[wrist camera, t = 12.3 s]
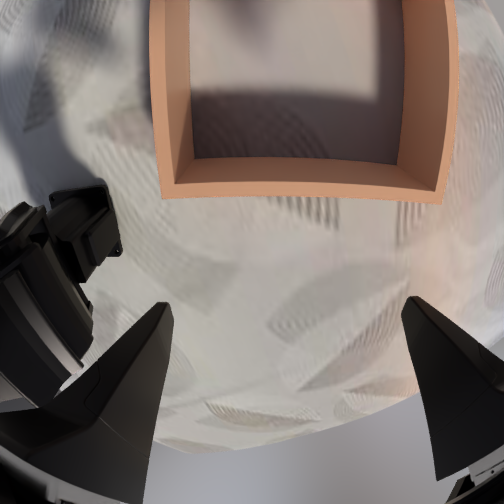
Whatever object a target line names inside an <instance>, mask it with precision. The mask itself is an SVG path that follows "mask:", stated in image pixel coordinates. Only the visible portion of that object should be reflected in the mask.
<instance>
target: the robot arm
mask: <svg viewBox="0 0 504 504" xmlns="http://www.w3.org/2000/svg"><path fill="white" fill-rule="evenodd" d="M101 190H103V192H104V194H103V193H102V192H101ZM53 197H54V198H55V199H54V198H53ZM49 201H50V205H51V208H52V210H51V211H50V212H48V213H47V211H46V208H45V206H44V205H42V206H39V207H34V208H33V207H32V206H30V205H28V204H27V203H26V202H25V201H24V202H21V203H19V204H18V205H16V206H15V207H14V208H13V209H11V210H10V211H9V212H7V213H6V214H5V215H4V216H3V217H2V218H1V220H0V403H1V402H2V401H7V400H12V399H17V398H22V397H24V398H25V399H26V400H27V401H28V402H29V403H30V404H32V405H33V406H34V407H35V409H28V410H21V411H12V412H3V413H0V504H120V502H124V503H128V504H143V496H144V490H145V483H146V476H147V470H148V464H149V456H150V451H151V446H152V440H153V435H154V430H155V425H156V420H157V415H158V410H159V405H160V400H161V395H162V391H163V386H164V382H165V377H166V373H167V369H168V364H169V359H170V351H171V342H172V334H173V326H174V318H173V315H172V311H171V307H170V304H169V303H168V302H157V303H156V304H155V305H154V306H153V307H152V308H151V309H150V310H149V311H148V312H146V313H145V314H144V315H143V316H142V317H141V318H140V319H139V320H138V321H137V322H136V323H135V324H134V325H133V326H132V327H131V328H130V329H129V330H128V331H127V332H126V333H124V334H123V335H122V336H121V337H120V338H119V339H118V340H117V341H116V342H115V343H114V344H113V345H112V346H111V347H110V348H109V349H108V350H107V351H106V352H105V353H104V354H103V355H102V356H101V357H100V358H99V359H98V361H96V362H95V363H94V364H93V365H92V366H91V367H90V368H89V369H88V370H87V371H85V372H84V373H83V374H82V375H81V376H80V377H79V378H78V379H77V380H75V381H74V382H73V383H72V384H71V385H70V386H68V387H67V388H66V389H65V390H63V391H62V392H61V393H60V394H59V395H57V396H56V397H55V398H54V396H55V395H56V393H57V392H58V390H59V388H60V387H61V386H62V385H63V383H64V382H65V381H66V380H67V379H68V378H69V377H70V376H71V375H73V374H74V373H76V372H77V371H79V370H81V369H82V368H83V367H84V364H83V363H82V362H81V361H80V360H81V359H82V358H83V357H84V355H85V354H86V352H87V351H88V350H89V348H90V346H91V344H92V342H93V336H92V329H93V320H92V312H93V305H92V303H91V302H90V301H88V299H87V297H86V296H85V294H84V292H83V290H82V288H81V287H80V285H79V283H86V281H87V280H88V278H89V277H90V276H91V274H92V273H93V271H94V270H95V268H96V267H97V266H100V265H101V264H102V262H103V261H104V260H105V258H106V257H119V256H120V255H121V254H122V252H123V248H122V245H121V241H120V233H119V229H118V225H117V221H116V217H115V213H114V211H113V209H112V205H111V200H110V195H109V191H108V188H107V187H106V186H105V185H96V186H89V187H82V188H75V189H69V190H63V191H57V192H53V193H51V194H50V195H49ZM46 213H47V214H46ZM116 250H118V251H119V252H117V251H116ZM401 318H402V322H403V327H404V331H405V336H406V340H407V345H408V350H409V353H410V357H411V360H412V363H413V367H414V370H415V374H416V377H417V381H418V385H419V389H420V393H421V396H422V401H423V405H424V409H425V414H426V419H427V423H428V428H429V434H430V437H431V438H430V440H431V445H432V452H433V458H434V466H435V474H436V480H437V481H439V480H441V479H444V478H446V477H448V476H450V475H452V474H454V473H456V472H458V471H460V470H462V469H464V468H466V467H468V468H469V472H470V473H469V474H468V475H466V476H464V477H462V478H460V479H459V480H457V482H456V484H455V486H454V488H453V490H452V492H451V494H450V496H449V498H448V500H447V502H446V503H445V504H504V361H503V360H501V359H500V358H498V357H497V356H496V355H494V354H493V353H492V352H490V351H489V350H488V349H487V348H485V347H484V346H483V345H482V344H480V343H478V341H477V340H475V339H474V338H473V337H472V336H470V335H469V334H468V333H467V332H465V331H464V330H463V329H461V328H460V327H459V326H458V325H456V324H455V323H454V322H452V321H451V320H450V319H448V318H447V317H446V316H444V315H443V314H442V313H440V312H439V311H438V310H436V309H435V308H434V307H432V306H431V305H430V304H428V303H427V302H426V301H424V300H423V299H421V298H420V297H419V296H410V297H408V298H407V300H406V303H405V305H404V307H403V310H402V312H401ZM53 398H54V399H53Z"/></svg>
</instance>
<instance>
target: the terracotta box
mask: <svg viewBox="0 0 504 504" xmlns="http://www.w3.org/2000/svg"><path fill="white" fill-rule="evenodd" d="M401 1H402V11H403V24H404V49H405V73H404V98H403V113H402V124H401V134H400V143H399V151H398V158H397V165H390V164H381V163H372V162H362V161H350V160H337V159H320V158H297V157H228V158H204V159H195V158H194V144H193V129H192V112H191V90H190V58H189V0H150V15H149V61H150V87H151V103H152V117H153V128H154V139H155V149H156V157H157V166H158V174H159V181H160V188H161V195H162V199H175V198H198V197H233V196H303V197H338V198H360V199H378V200H393V201H406V202H418V203H429V204H439V205H441V204H442V200H443V196H444V192H445V187H446V183H447V178H448V173H449V168H450V162H451V157H452V151H453V144H454V137H455V129H456V120H457V108H458V93H459V47H458V32H457V21H456V13H455V6H454V0H401Z"/></svg>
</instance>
